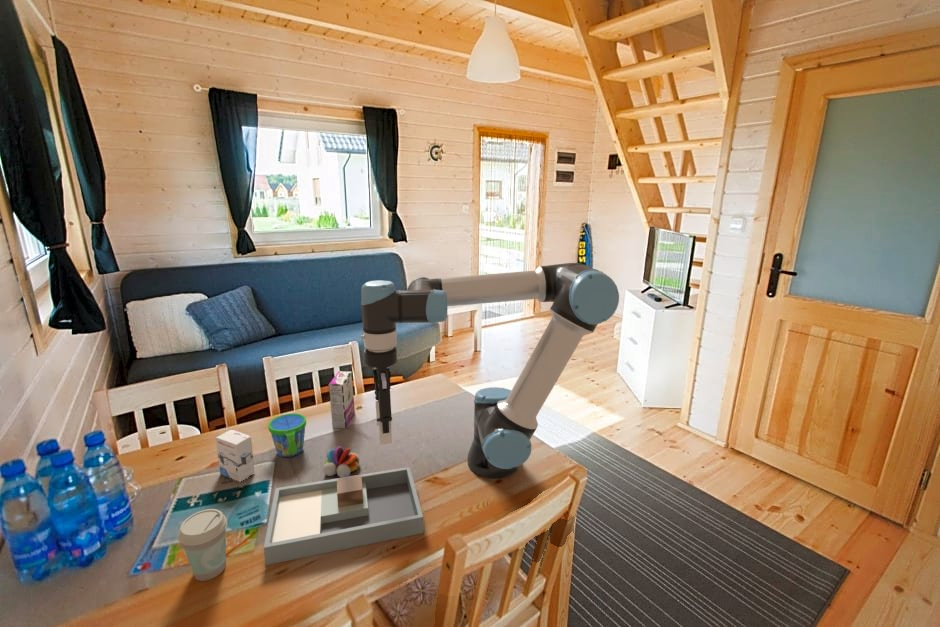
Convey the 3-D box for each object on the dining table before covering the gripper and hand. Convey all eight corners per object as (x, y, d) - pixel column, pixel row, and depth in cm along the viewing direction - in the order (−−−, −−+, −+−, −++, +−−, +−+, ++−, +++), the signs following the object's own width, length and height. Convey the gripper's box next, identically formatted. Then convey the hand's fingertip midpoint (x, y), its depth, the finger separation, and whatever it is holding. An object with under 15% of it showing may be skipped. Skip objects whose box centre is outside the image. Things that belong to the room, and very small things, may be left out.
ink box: (219, 474, 123) (213, 437, 120) (235, 465, 127) (230, 428, 124) (241, 483, 119) (235, 445, 116) (256, 473, 124) (251, 436, 121)
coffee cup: (200, 594, 87) (190, 543, 83) (178, 574, 91) (168, 526, 88) (241, 564, 94) (234, 517, 90) (219, 547, 98) (211, 501, 95)
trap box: (410, 481, 121) (409, 466, 120) (423, 533, 103) (423, 516, 102) (277, 503, 112) (275, 488, 111) (265, 565, 93) (263, 547, 92)
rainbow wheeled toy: (350, 482, 121) (349, 458, 119) (318, 477, 123) (316, 454, 121) (364, 464, 129) (362, 442, 127) (333, 459, 131) (332, 438, 129)
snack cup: (310, 461, 129) (307, 430, 127) (271, 469, 125) (267, 438, 123) (307, 435, 143) (304, 407, 141) (272, 441, 139) (268, 412, 137)
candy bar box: (341, 412, 158) (338, 370, 154) (355, 413, 158) (352, 370, 154) (331, 429, 147) (327, 384, 143) (346, 429, 147) (343, 384, 143)
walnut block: (362, 488, 114) (361, 474, 113) (363, 503, 109) (362, 489, 108) (338, 492, 113) (336, 478, 112) (338, 507, 107) (337, 493, 106)
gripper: (361, 334, 111) (365, 415, 117) (366, 365, 92) (371, 459, 98) (391, 332, 114) (394, 411, 120) (402, 361, 94) (405, 454, 100)
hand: (384, 433), depth 109 cm, fingers open, 8 cm apart
